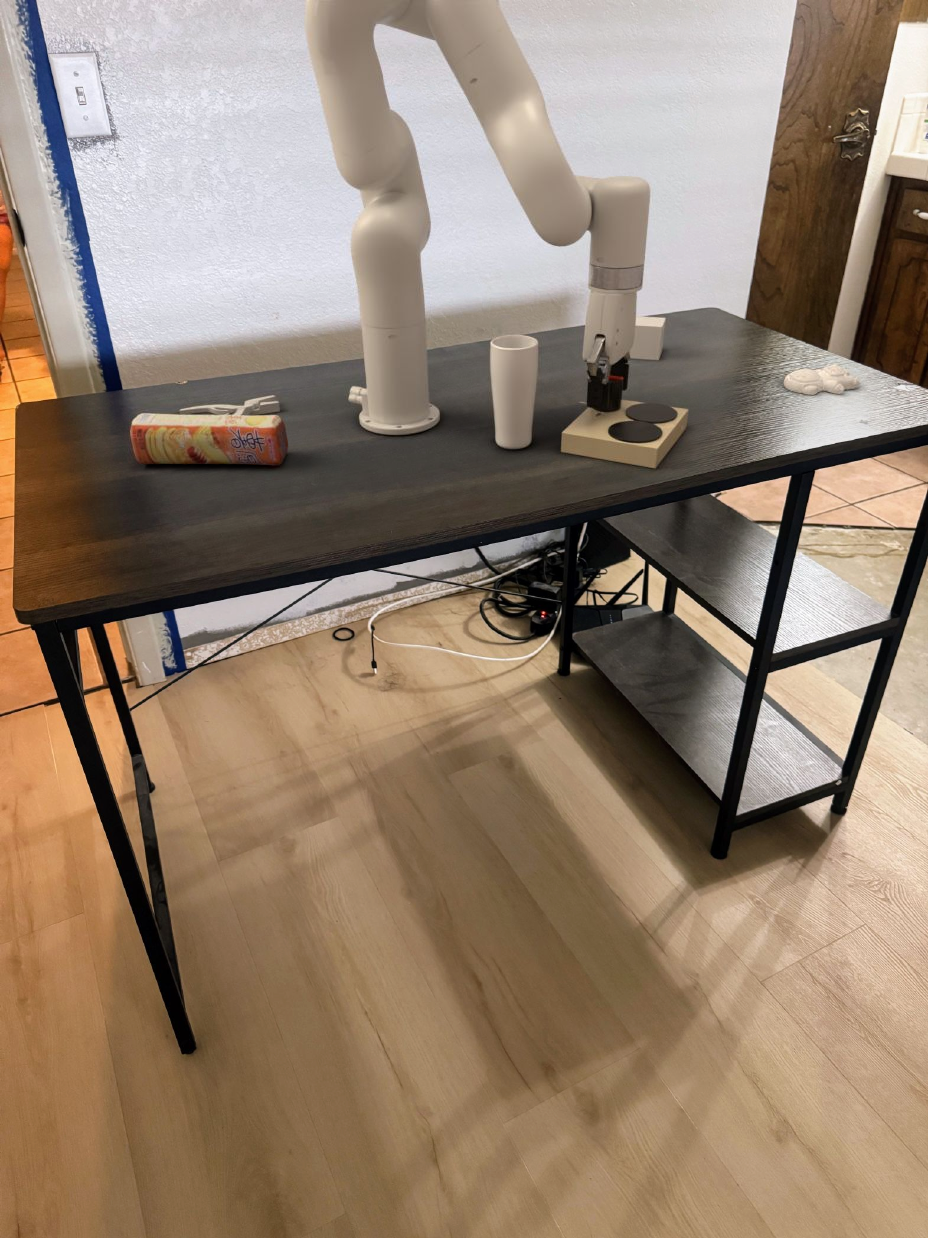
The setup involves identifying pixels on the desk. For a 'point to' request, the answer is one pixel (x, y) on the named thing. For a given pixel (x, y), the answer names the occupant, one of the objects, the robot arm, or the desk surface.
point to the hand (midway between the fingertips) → (607, 397)
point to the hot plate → (595, 441)
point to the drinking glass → (513, 388)
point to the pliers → (239, 407)
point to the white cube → (648, 338)
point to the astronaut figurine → (820, 380)
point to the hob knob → (614, 393)
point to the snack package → (209, 439)
